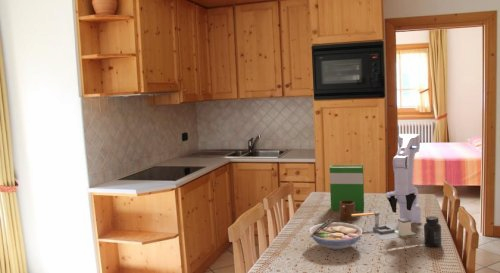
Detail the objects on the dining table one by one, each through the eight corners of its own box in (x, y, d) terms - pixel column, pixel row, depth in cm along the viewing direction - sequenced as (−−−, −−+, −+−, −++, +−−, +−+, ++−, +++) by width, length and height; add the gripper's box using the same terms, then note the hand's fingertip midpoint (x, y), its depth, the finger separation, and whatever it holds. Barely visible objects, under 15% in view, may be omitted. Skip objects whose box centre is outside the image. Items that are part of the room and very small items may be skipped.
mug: (349, 225, 222) (349, 207, 221) (335, 224, 226) (334, 205, 224) (357, 218, 232) (356, 201, 231) (342, 217, 236) (342, 199, 235)
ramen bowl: (351, 261, 178) (351, 241, 177) (299, 252, 190) (298, 234, 190) (370, 241, 199) (370, 223, 198) (322, 234, 211) (322, 217, 211)
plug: (405, 230, 208) (405, 217, 207) (411, 233, 204) (410, 220, 203) (398, 231, 207) (398, 218, 206) (403, 234, 203) (403, 221, 202)
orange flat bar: (380, 215, 213) (380, 213, 213) (352, 217, 213) (352, 215, 212) (378, 213, 216) (378, 211, 216) (351, 215, 215) (351, 213, 215)
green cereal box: (364, 207, 252) (363, 165, 249) (363, 211, 245) (362, 167, 242) (332, 206, 257) (330, 165, 254) (331, 210, 250) (329, 167, 247)
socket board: (394, 224, 220) (394, 211, 219) (417, 235, 203) (417, 221, 202) (361, 229, 216) (361, 215, 215) (381, 241, 198) (381, 227, 197)
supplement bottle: (441, 242, 193) (440, 215, 192) (442, 248, 187) (442, 220, 185) (423, 241, 195) (423, 214, 194) (424, 247, 189) (424, 219, 187)
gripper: (391, 185, 199) (392, 215, 201) (420, 182, 203) (420, 211, 204) (383, 182, 206) (383, 211, 207) (411, 179, 209) (411, 207, 211)
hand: (401, 211), depth 206 cm, fingers open, 7 cm apart
